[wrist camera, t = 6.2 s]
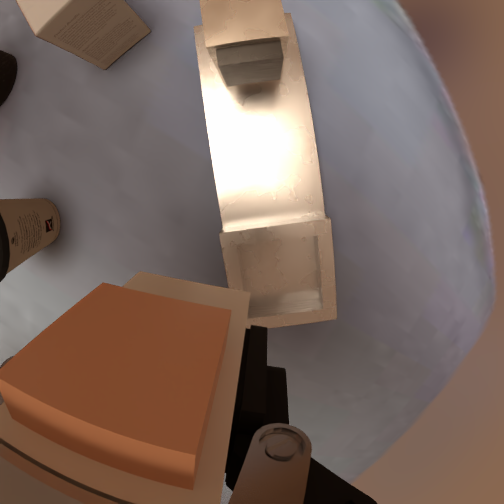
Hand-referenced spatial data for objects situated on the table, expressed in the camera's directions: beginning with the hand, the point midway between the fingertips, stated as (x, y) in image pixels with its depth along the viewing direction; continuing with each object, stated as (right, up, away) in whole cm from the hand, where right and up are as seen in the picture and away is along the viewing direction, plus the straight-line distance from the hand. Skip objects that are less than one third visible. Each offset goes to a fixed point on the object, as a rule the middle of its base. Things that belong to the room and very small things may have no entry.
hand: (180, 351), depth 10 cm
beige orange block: (0, 0, +1) cm, 1 cm away
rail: (+3, +10, +13) cm, 17 cm away
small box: (-11, +24, +10) cm, 28 cm away
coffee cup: (-18, +6, +15) cm, 25 cm away
